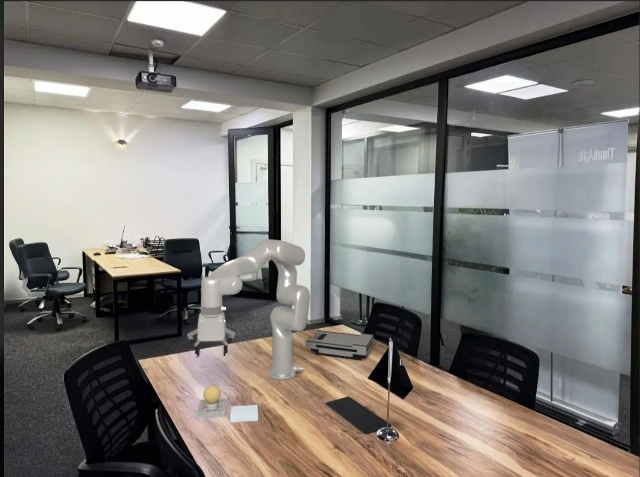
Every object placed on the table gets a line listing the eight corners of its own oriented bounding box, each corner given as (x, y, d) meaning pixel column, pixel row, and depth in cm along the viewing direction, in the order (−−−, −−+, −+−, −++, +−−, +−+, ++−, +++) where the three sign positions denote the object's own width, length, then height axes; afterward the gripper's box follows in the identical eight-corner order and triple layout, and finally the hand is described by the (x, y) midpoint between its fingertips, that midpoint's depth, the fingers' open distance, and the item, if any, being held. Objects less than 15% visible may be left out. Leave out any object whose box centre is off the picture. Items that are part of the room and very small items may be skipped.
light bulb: (216, 416, 157) (216, 390, 156) (200, 414, 158) (200, 388, 157) (223, 408, 163) (223, 383, 162) (208, 406, 165) (208, 381, 164)
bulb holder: (226, 404, 166) (226, 398, 166) (224, 417, 157) (224, 410, 157) (200, 405, 165) (200, 399, 165) (197, 418, 155) (197, 412, 155)
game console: (317, 342, 243) (318, 328, 242) (373, 349, 233) (373, 334, 232) (305, 354, 223) (305, 339, 222) (365, 362, 213) (366, 346, 213)
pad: (257, 407, 165) (257, 404, 165) (258, 420, 155) (258, 418, 155) (231, 409, 163) (231, 406, 163) (230, 422, 153) (230, 419, 153)
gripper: (235, 307, 162) (235, 351, 164) (188, 308, 159) (188, 352, 161) (235, 312, 155) (234, 358, 156) (185, 313, 152) (185, 359, 154)
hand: (211, 355), depth 159 cm, fingers open, 9 cm apart
